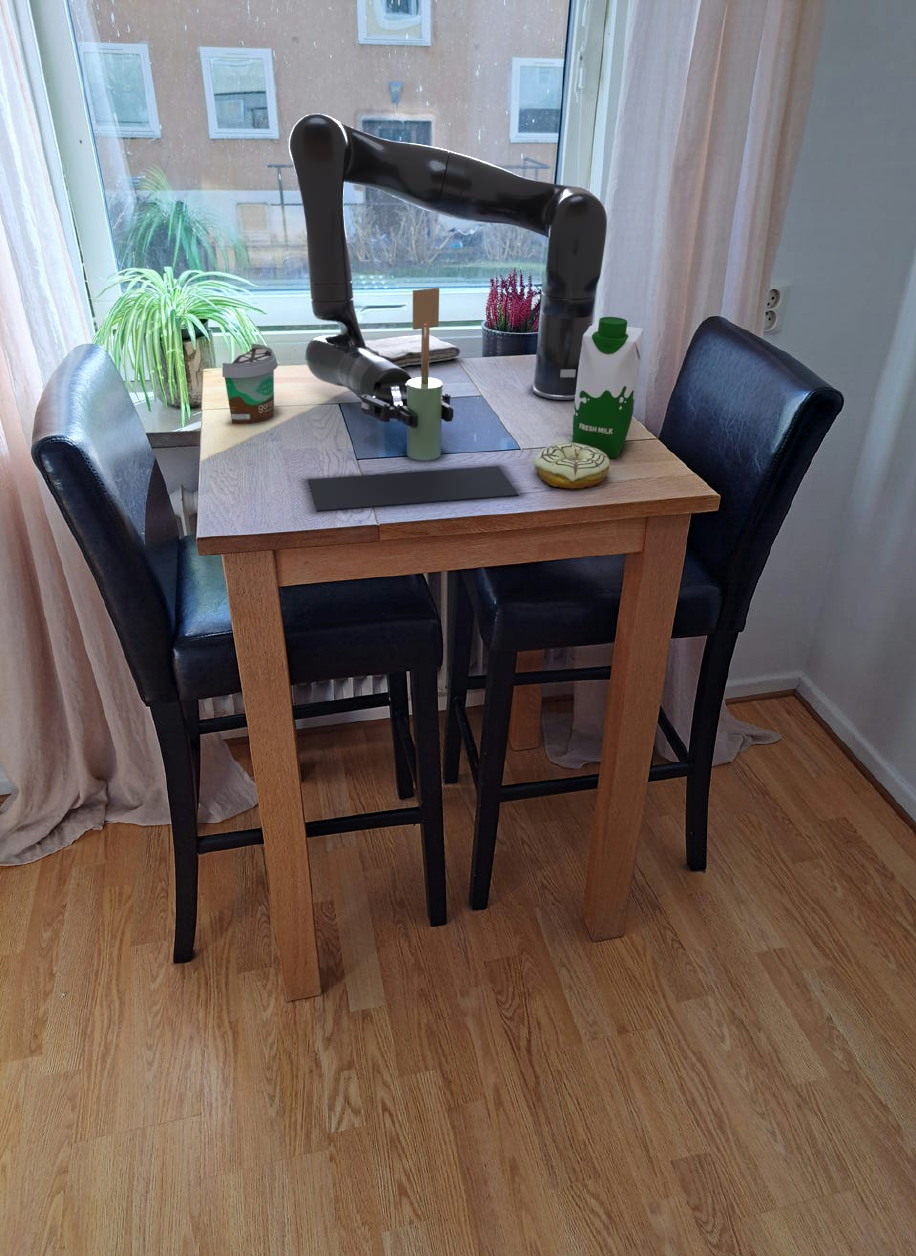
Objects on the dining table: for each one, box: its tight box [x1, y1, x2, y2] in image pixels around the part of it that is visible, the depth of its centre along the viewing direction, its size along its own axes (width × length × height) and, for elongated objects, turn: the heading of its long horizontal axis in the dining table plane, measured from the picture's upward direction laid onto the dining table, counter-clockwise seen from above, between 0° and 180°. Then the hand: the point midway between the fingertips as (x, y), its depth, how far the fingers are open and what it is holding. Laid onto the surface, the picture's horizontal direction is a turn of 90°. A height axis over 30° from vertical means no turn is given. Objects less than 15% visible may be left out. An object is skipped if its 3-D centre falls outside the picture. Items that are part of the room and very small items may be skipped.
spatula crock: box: [406, 287, 444, 462], centre depth 128 cm, size 5×5×24 cm
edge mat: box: [307, 465, 520, 512], centre depth 124 cm, size 28×10×1 cm, turn 104°
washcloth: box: [364, 333, 461, 368], centre depth 174 cm, size 12×18×3 cm, turn 123°
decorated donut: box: [533, 441, 611, 489], centre depth 128 cm, size 10×11×4 cm
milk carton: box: [572, 316, 644, 460], centre depth 134 cm, size 9×9×20 cm
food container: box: [221, 342, 279, 425], centre depth 143 cm, size 12×6×10 cm, turn 168°
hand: (433, 418), depth 129 cm, fingers closed on spatula crock, 5 cm apart
